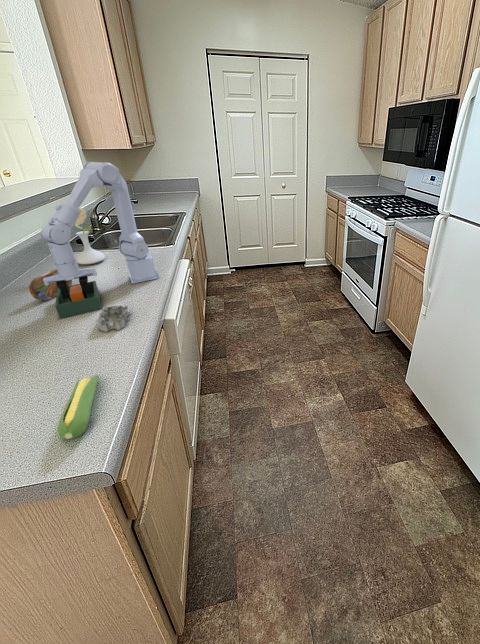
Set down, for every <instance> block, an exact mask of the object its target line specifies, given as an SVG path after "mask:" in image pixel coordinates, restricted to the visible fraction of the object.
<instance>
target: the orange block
mask: <svg viewBox="0 0 480 644" xmlns="http://www.w3.org/2000/svg"><path fill="white" fill-rule="evenodd" d="M70 297H71V300H72V302H73V301H77V300H82V299H85V297H84V294H83V290H82V288H81V285H77V286H72V287H70Z"/></svg>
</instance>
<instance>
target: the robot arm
mask: <svg viewBox="0 0 480 644" xmlns="http://www.w3.org/2000/svg"><path fill="white" fill-rule="evenodd" d="M101 186H103V187H105V188H107V189H108V190H109V191H110V194H111V197H112V201H113V206H114V209H115V214H116V218H117V221H118V225H119V229H120V235H119V237H118V240H119V244H118V251H119V252H120V253H121V254H122V255H123V256H124V258H125V261H126V265H127V269H128V272H129V281H130V283H131V285H133V284H138V283H142V282H148V281H152V280H156V279H158V275H157V269H156V267H155V262H154V259H153V256H152V255H151V254H149V247H148V244H147V243H146V241H145V239H144V238H145V237H143V236H142V235H141V234H140V233H139V231H138V227H137V222H136V219H135V214H134V211H133V206H132V201H131V196H130V193H129V188H128V184H127V182H126V180H125V178H124V177H123V176H122V175H121V173H120V168H119V167H118V166H115V165H114V164H112V163H111V162H106V161H105V162H97V161H87V162H86V163H85V164H84V165H83V167H82V169H81V170H80V171H79V177H78V178H77V181H76V182H75V184H74V186H73V188H72V191H71V193H70V194H69V196H68V198H67V200H66V201H65V202H60V203H59V204H56V206H55V207H54V209H55V211H54V213H53V214H52V217H51V218H50V219H48V220H47V223H46V224H44V225H43V226H42V227H41V229H40V234H39V237H40V238H41V239H42V241H44V242H46V244H47V246H48V249H49V252H50V255H51V257H52V259H53V262H54V265H55V267H56V269H57V270H58V273H59V274H57V275H54V276H50V277H46V278H44V279H43V281H44V283H45V285H49V284H52V283H56V284H57V287H58V288H59V289H60V290H62V291H63V292H64V293H65V294H66V295H67V296H68V298H69V299H70V301H71V302H72V300H71V297H70V290H69V287H68V284H67V280H72V281H73V280H77V279H78V284H80V285H81V288H82V290H83V294H84V297H85V299H86V298H87V293H86V288H87V282H89V278H88V277H92V276H93V277H97V276H98V272H97V270H96V268H88V269H80V267H79V265H78V263H77V262H76V260H77V258H76V256H75V252H74V251H73V248H72V245H71V242H70V240H71V239H72V232H71V231H72V229H73V227H74V226H75V225H74V223H75V222H76V220H77V218H78V217H79V215H80V210H79V208H80V206H81V205H82V203H84V201H85V199H86V198H87V196H88V195H89V193H90V192H91V190H92V189H94V188H96V187H101Z"/></svg>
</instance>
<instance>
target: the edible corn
mask: <svg viewBox="0 0 480 644" xmlns="http://www.w3.org/2000/svg"><path fill="white" fill-rule="evenodd" d="M80 376H81V375H79V376H78V378H77V380H76V383H75V385H74V387H73V390H72V392H71V395H70V396H69V399H68V401H67V403H66V405H65V407H64V409H63V411H62V413H61V415H60V419H59V421H58V425H57V433H58V435H59V437H60V438H62V439H65V440H66V439H68V440H69V439H73V438H77V437H79V436H81V435H83V434H84V433H85V432H86V431H87V429H88V426H89V423H90V419H91V415H92V410H93V406H94V400H95V395H96V390H97V386H98V383H99V382H98V381H99V375H98V374H97V375H93V377H91V378H90V377H84V378H82V379H81V380H80V378H81V377H80Z"/></svg>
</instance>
